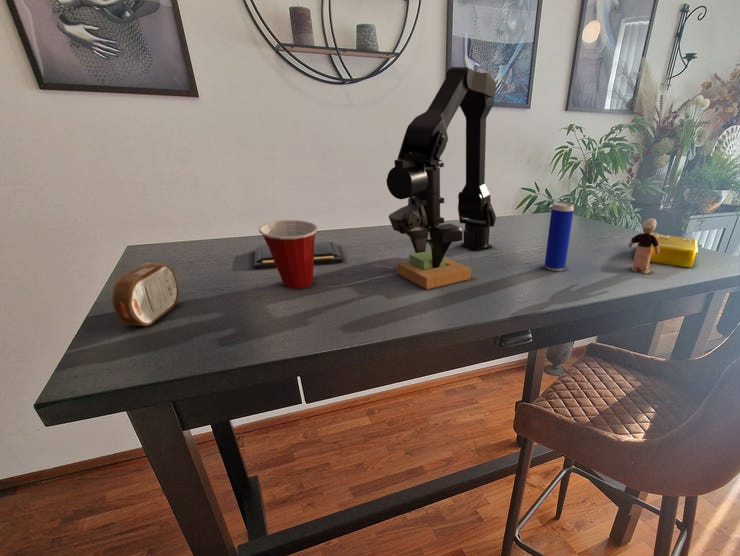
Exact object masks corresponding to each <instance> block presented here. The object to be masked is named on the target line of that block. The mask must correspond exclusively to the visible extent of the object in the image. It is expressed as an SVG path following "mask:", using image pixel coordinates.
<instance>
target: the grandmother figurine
mask: <svg viewBox="0 0 740 556" xmlns="http://www.w3.org/2000/svg"><path fill="white" fill-rule="evenodd" d="M656 227H657V220H656V218H653V217H650V218H647V219H645V220H644V221H643V223H642V224H641V226H640V228H642V231H643V233H638V234H636V235H635V236H633V237H632V238H631V239H630V241H629V243H628V244H627V247H628V248H632V247H633V246H634V244H638V243H639V244H638V246H637V245H636V248H637V249H635V253H634V258H633V262H632V267H631V272H634V273H638V272H640V273H641V274H650V273H651V270H650V269H649V267H650V263H651V262H650V257H651V250H652V248H651V244H652V245H653V246H654V249H655V253H656V254H658V253H659V244H658V241H657V239H656V237H655V236H653V235H651V233H654V231H655V230H656Z"/></svg>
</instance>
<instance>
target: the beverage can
mask: <svg viewBox="0 0 740 556" xmlns="http://www.w3.org/2000/svg"><path fill="white" fill-rule="evenodd" d="M574 211H575V209H574V204H572V203H568V202H567V203H566V202H554V203H552V206H551V209H550V218H549V226H548V236H547V242H546V252H545V259H544V260H545V261H544V266H545V269H547V270H549V271H552V272H553V271H554V272H558V271H559V272H560V271H563V270H564V269H565V268H566V267H567V266H566V265H567V259H568V251H569V246H570V237H571V233H572V226H573V225H572V224H573V218H574Z"/></svg>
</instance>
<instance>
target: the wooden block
mask: <svg viewBox="0 0 740 556" xmlns="http://www.w3.org/2000/svg"><path fill="white" fill-rule="evenodd" d="M396 264H397V266H396V267H397V268H396V269H397V274H398V275H399V276H401V277H403V278H405V279H407V280H409V281H411V282H412V283H414V284H416V285H418V286H419V287H422V288H423V289H425V290H429V289H434V288H438V287H443V286H447V285H451V284H455V283H460V282H463V281H468V280H471V276H472V275H471V272H472V269H471V267H468V266H466V265H463V264H461V263H459V262H457V261H455V260H452V259H450V258H448V257H446V266H442V267H438V268H433V269H428V270H422V269H420V268H418V267H416V266H414V265H412V264H410V262H407V261H401V262H397V263H396Z"/></svg>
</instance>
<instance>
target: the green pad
mask: <svg viewBox="0 0 740 556" xmlns="http://www.w3.org/2000/svg"><path fill="white" fill-rule="evenodd" d="M408 256H409V263H410V264H412V265H414V266H416V267H418V268H420V269H422V270H428V269H433V262H432V252H431V250H427V251H426V250H425V252H420V253H415V252H414V253H409V255H408ZM446 258H447V257H446V256H445V255H444V257H443V259H442V262H441V264H440V266H439V267H442V266H446Z"/></svg>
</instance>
